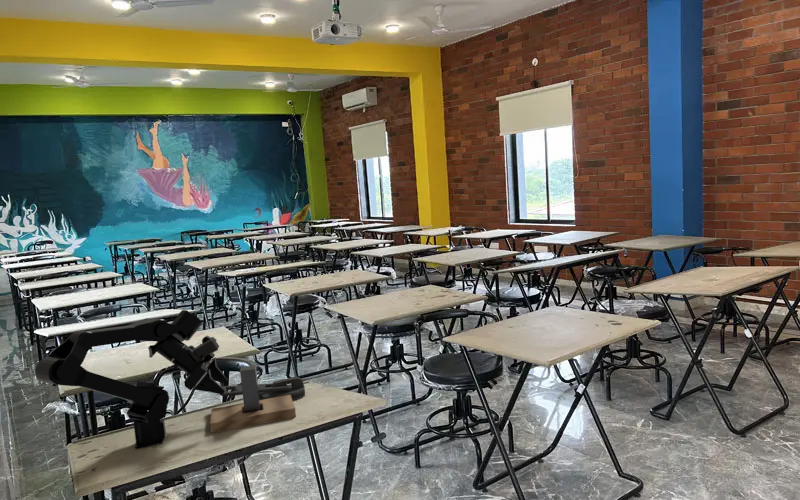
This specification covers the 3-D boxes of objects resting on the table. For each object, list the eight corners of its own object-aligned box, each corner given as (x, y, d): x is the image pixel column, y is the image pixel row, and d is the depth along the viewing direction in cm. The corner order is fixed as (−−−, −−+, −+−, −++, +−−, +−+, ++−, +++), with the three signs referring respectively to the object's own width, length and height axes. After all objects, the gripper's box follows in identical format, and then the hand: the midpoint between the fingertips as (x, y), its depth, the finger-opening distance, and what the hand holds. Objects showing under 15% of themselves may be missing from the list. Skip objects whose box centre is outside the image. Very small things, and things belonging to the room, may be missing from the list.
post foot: (211, 432, 148) (210, 423, 148) (212, 417, 159) (211, 408, 159) (295, 416, 154) (294, 408, 154) (291, 403, 165) (290, 394, 165)
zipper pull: (215, 386, 167) (298, 368, 177) (218, 408, 167) (300, 389, 178) (220, 394, 158) (306, 375, 169) (223, 417, 159) (308, 396, 170)
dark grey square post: (245, 421, 154) (240, 371, 153) (246, 415, 158) (241, 367, 157) (260, 418, 155) (255, 368, 154) (261, 413, 159) (255, 365, 158)
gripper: (192, 337, 143) (242, 373, 146) (203, 323, 161) (247, 355, 164) (163, 372, 142) (213, 407, 145) (177, 353, 160) (222, 386, 163)
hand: (225, 387), depth 154 cm, fingers open, 9 cm apart
